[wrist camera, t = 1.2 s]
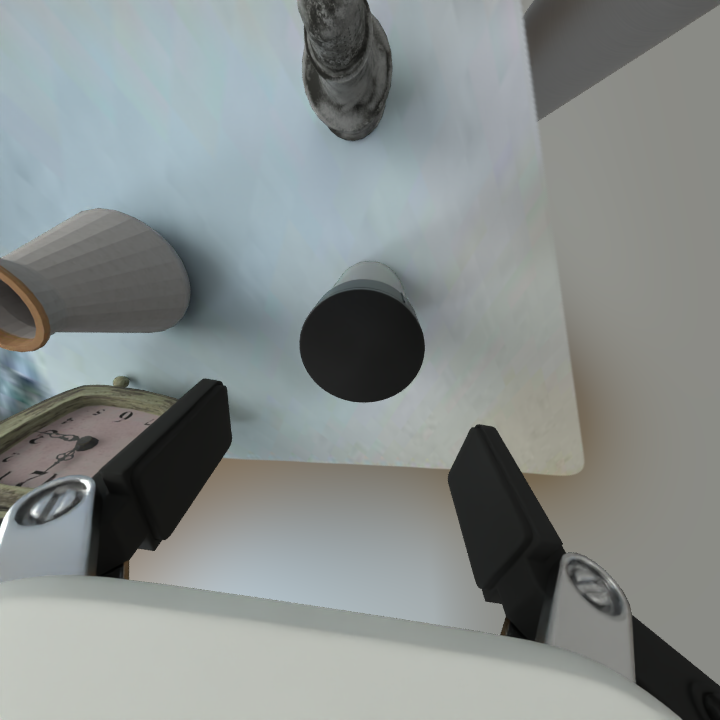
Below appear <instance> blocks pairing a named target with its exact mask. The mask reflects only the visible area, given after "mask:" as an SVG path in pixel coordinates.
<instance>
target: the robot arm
mask: <svg viewBox="0 0 720 720" xmlns="http://www.w3.org/2000/svg"><path fill="white" fill-rule="evenodd" d="M231 442H232V432H231V423H230V413H229V404H228V394H227V387H226V386H223V383H222V382H221V381H217V380H211V379H202V380H201V381H200V382H199V383H198V384H196V385H195V386H194V387H193V388H192V389H191V390H190V391H188V392H187V393H186V394H185V395H184V396H183V397H182V398H180V399H179V400H178V401H177V402H176V403H175V404H174V405H172V406H171V407H170V408H169V409H168V410H167V411H166V412H164V413H163V414H162V415H161V416H160V417H159V418H158V419H156V420H155V421H154V422H153V423H152V424H151V425H150V426H148V427H147V428H146V429H145V430H144V431H143V432H142V433H140V434H139V435H138V436H137V437H136V438H135V439H134V440H133V441H131V442H130V443H129V444H128V445H127V446H126V447H125V448H123V449H122V450H121V451H120V452H119V453H118V454H117V455H115V456H114V457H113V458H112V459H111V460H110V461H109V462H107V463H106V464H105V465H104V466H103V467H102V468H101V469H99V471H98V472H97V473H96V474H95V475H94V476H93V477H92V478H90V477H89V476H85V475H69V476H65V477H60V478H57V479H54V480H52V481H49V482H46V483H44V484H42V485H40V486H38V487H36V488H34V489H33V490H31V491H29V492H28V493H27V494H25V495H24V496H22V497H21V498H20V499H18V500H17V501H16V502H15V503H14V504H13V505H12V506H11V507H10V509H9V510H8V512H7V513H6V515H5V517H4V518H2V519H0V720H720V686H719V685H718V684H716V683H715V682H714V681H713V680H712V679H710V678H709V677H708V676H707V675H705V674H704V673H703V672H702V671H701V670H699V669H698V668H697V667H695V666H694V665H693V664H692V663H691V662H689V661H688V660H687V659H686V658H685V657H683V656H682V655H681V654H680V653H678V652H677V651H676V650H675V649H673V648H672V647H671V646H670V645H668V644H667V643H666V642H665V641H663V640H662V639H661V638H660V637H659V636H657V635H656V634H655V633H654V632H652V631H651V630H650V629H649V628H647V627H646V626H645V625H644V624H642V623H641V622H640V621H639V620H638V619H636V618H635V617H634V616H633V615H632V613H631V608H630V604H629V602H628V600H627V598H626V596H625V594H624V592H623V591H622V589H621V588H620V587H619V585H618V584H617V583H616V581H615V580H614V579H613V578H612V577H611V576H610V575H609V574H608V573H607V572H606V571H605V570H604V569H603V568H602V567H601V566H599V565H598V564H597V563H595V562H594V561H592V560H591V559H589V558H587V557H586V556H583V555H581V554H578V553H572V552H568V553H566V552H565V550H564V549H563V547H562V544H563V543H562V541H561V539H560V538H559V536H558V535H557V533H556V531H555V529H554V527H553V526H552V524H551V522H550V521H549V519H548V517H547V516H546V514H545V512H544V510H543V509H542V507H541V505H540V503H539V502H538V500H537V498H536V497H535V495H534V493H533V491H532V490H531V488H530V486H529V485H528V483H527V481H526V479H525V478H524V476H523V474H522V473H521V471H520V469H519V467H518V466H517V464H516V462H515V461H514V459H513V457H512V455H511V454H510V452H509V450H508V449H507V447H506V445H505V443H504V442H503V440H502V438H501V437H500V435H499V433H498V431H497V430H496V429H495V428H494V427H491V426H486V425H480V424H479V425H476V426H475V428H474V427H472V428H471V429H470V431H469V433H468V435H467V437H466V439H465V441H464V443H463V445H462V447H461V449H460V451H459V453H458V455H457V457H456V460H455V462H454V464H453V466H452V468H451V470H450V472H449V474H448V484H449V487H450V491H451V495H452V498H453V502H454V505H455V509H456V513H457V516H458V520H459V524H460V527H461V531H462V535H463V538H464V542H465V545H466V549H467V553H468V556H469V560H470V564H471V567H472V571H473V574H474V578H475V581H476V584H477V586H478V587H479V588H480V589H482V591H483V595H484V598H485V601H486V602H493V603H499V604H502V605H503V608H504V611H505V614H506V618H505V622H504V624H503V628H502V632H501V634H500V635H496V634H491V633H485V632H480V631H474V630H467V629H461V628H455V627H448V626H442V625H436V624H429V623H422V622H415V621H410V620H403V619H397V618H390V617H384V616H378V615H371V614H364V613H358V612H351V611H344V610H337V609H331V608H324V607H318V606H311V605H304V604H297V603H291V602H284V601H277V600H270V599H264V598H257V597H250V596H243V595H236V594H229V593H221V592H215V591H208V590H202V589H194V588H187V587H181V586H174V585H166V584H158V583H150V582H142V581H134V580H129V560H130V558H131V557H132V556H133V554H134V553H135V552H136V550H137V549H145V550H152V551H155V550H156V548H157V547H158V545H159V544H160V542H161V541H162V540H166V539H167V538H168V537H169V536H170V535H171V534H172V532H173V531H174V529H175V528H176V526H177V525H178V523H179V522H180V520H181V519H182V517H183V516H184V514H185V513H186V511H187V510H188V508H189V507H190V506H191V504H192V502H193V501H194V500H195V498H196V496H197V495H198V494H199V492H200V491H201V489H202V488H203V486H204V485H205V483H206V482H207V480H208V478H209V477H210V476H211V474H212V473H213V471H214V470H215V468H216V467H217V465H218V463H219V462H220V461H221V459H222V458H223V456H224V455H225V453H226V452H227V450H228V449H229V447H230V445H231Z"/></svg>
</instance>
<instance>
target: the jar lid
mask: <svg viewBox="0 0 720 720" xmlns="http://www.w3.org/2000/svg"><path fill="white" fill-rule="evenodd" d="M424 352H425V342H424V336H423V332H422V329H421V327H420V324H419V321H418V319H417V316H416V314H415V311H414V309H413V307H412V306H411V304H410V303H409V301H408V300H407V298H406V297H405V296H404V295H403V293H402V292H401V293H400V292H399V291H398V290H396V289H395V288H393V287H392V286H390V285H388V284H385V283H383V282H380V281H376V280H370V279H357V280H350V281H347V282H344V283H341V284H339V285H337V286H335V287H334V288H332V289H331V290H329V291H328V292H327V293H326V294H325V295H324V296H323V297H322V298H321V299H320V301H319V302H318V303H317V305H316V306H315V307H314V308H313V310H312V311H311V312H310V314H309V315H308V317H307V318H306V320H305V322H304V325H303V327H302V330H301V334H300V354H301V358H302V361H303V364H304V366H305V368H306V370H307V372H308V373H309V375H310V376H311V378H312V379H313V380H314V381H315V382H316V383H317V384H318V385H319V386H320V387H321V388H322V389H324V390H325V391H327V392H328V393H330V394H332V395H334V396H336V397H338V398H341V399H344V400H348V401H352V402H375V401H380V400H384V399H387V398H389V397H392V396H394V395H396V394H397V393H399V392H401V391H402V390H403V389H405V388H406V387H407V386H408V385H409V384H410V383H411V382H412V381H413V379H414V378H415V377H416V375H417V374H418V372H419V370H420V368H421V365H422V363H423V359H424Z"/></svg>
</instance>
